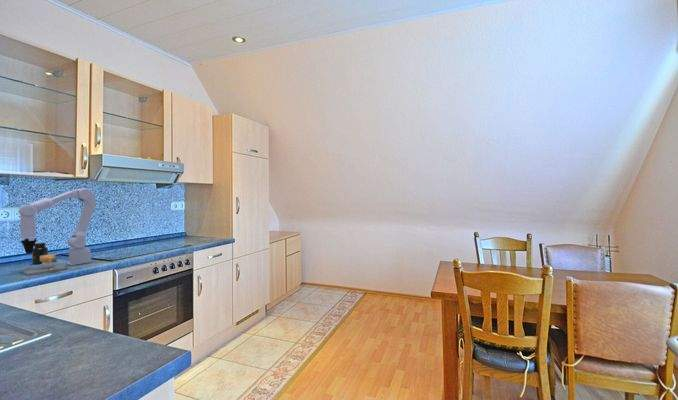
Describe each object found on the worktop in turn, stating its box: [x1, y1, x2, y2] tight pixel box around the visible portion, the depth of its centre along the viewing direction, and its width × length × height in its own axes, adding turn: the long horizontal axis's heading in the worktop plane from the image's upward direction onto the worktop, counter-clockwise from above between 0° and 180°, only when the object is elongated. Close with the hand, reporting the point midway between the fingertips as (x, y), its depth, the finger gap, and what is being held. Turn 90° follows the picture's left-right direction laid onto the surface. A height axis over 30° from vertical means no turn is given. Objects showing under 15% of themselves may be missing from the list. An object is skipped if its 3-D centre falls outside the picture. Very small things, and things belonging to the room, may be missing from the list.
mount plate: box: [21, 261, 68, 277], centre depth 163 cm, size 15×14×5 cm
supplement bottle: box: [31, 242, 49, 265], centre depth 181 cm, size 7×7×12 cm
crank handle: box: [40, 253, 58, 264], centre depth 162 cm, size 14×6×3 cm, turn 58°
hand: (28, 253), depth 163 cm, fingers closed
